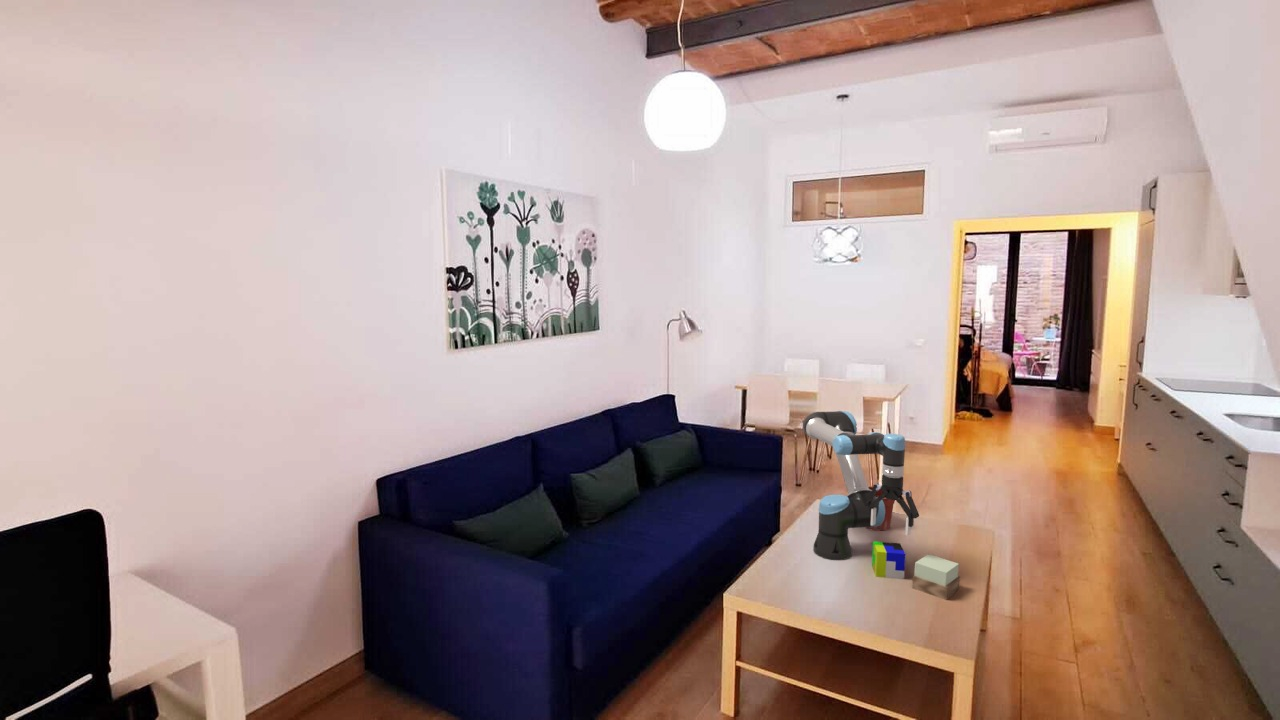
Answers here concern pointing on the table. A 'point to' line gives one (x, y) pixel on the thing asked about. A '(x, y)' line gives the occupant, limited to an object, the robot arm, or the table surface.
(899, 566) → the puzzle toy
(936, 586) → the bottom slab
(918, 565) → the top slab
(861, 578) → the table surface
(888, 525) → the flower pot
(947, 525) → the table surface
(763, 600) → the table surface
